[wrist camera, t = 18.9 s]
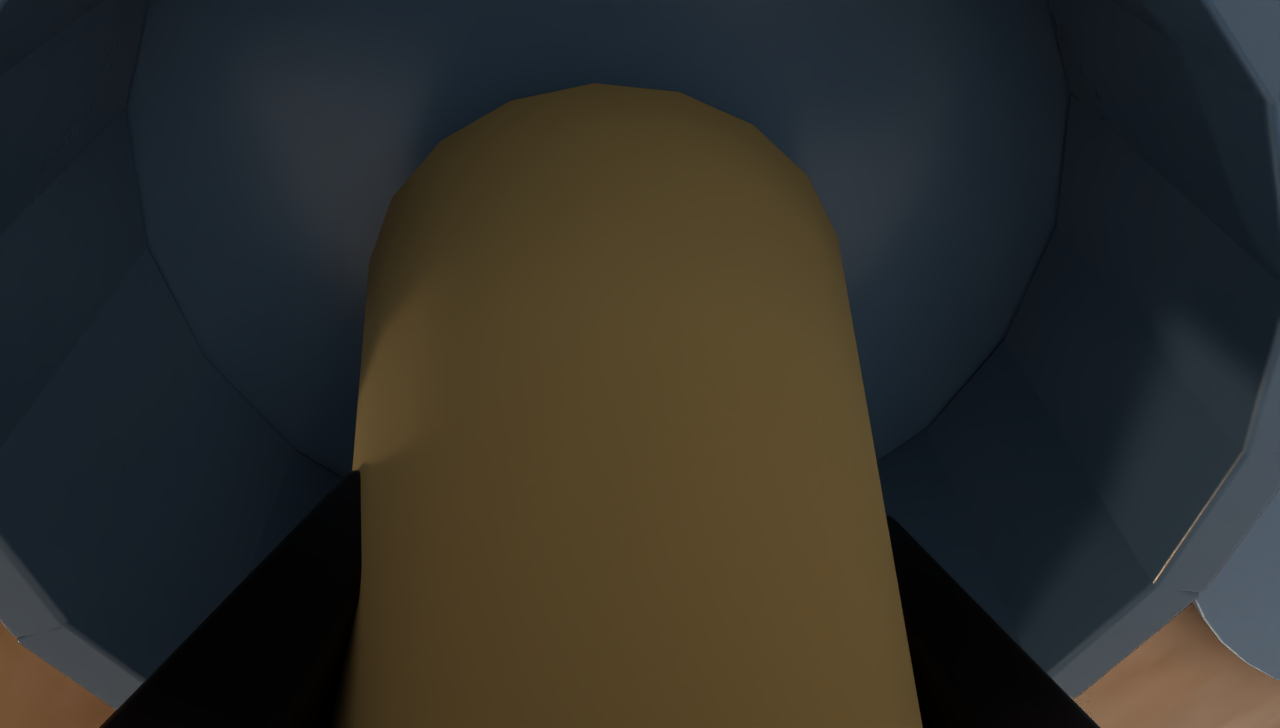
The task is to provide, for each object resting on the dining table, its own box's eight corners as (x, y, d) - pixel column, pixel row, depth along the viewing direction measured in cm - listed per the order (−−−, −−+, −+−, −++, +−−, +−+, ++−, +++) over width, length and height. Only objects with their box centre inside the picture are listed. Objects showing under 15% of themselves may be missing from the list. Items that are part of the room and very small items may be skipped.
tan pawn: (773, 0, 10) (1988, 2123, 1) (886, 415, 14) (1458, 1810, 5) (270, 191, 11) (-870, 2162, 2) (493, 534, 15) (361, 1876, 6)
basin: (915, 581, 19) (1013, 856, 15) (160, 525, 17) (18, 821, 13) (1312, -259, 11) (1789, -198, 7) (-30, -530, 9) (-581, -691, 5)
